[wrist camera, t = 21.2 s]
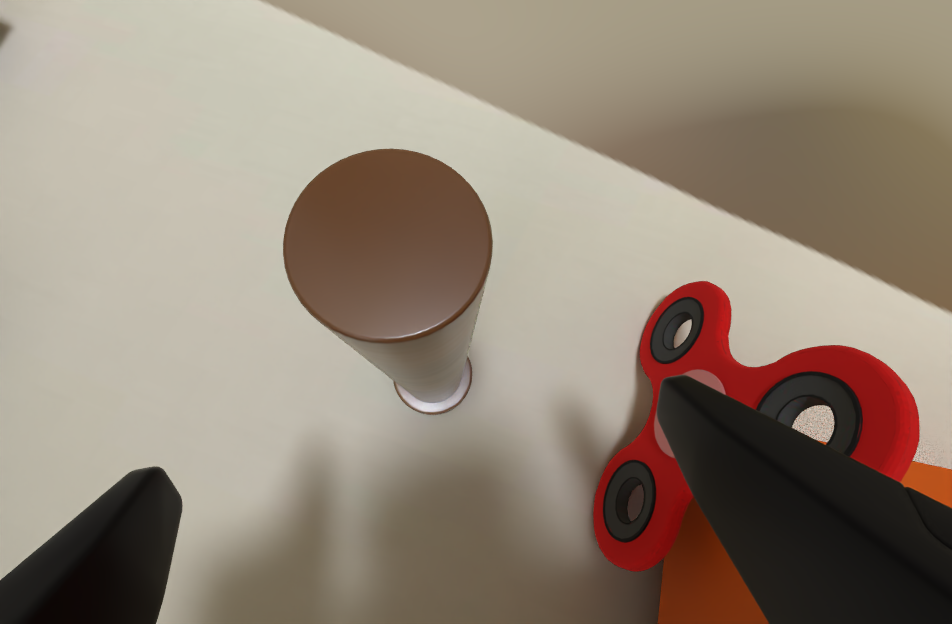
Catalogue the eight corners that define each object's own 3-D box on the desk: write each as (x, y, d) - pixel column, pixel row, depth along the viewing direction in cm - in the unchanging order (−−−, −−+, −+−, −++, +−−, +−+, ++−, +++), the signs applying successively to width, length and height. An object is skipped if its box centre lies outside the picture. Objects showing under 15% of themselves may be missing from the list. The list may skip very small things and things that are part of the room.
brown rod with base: (472, 413, 18) (538, 380, 5) (395, 415, 18) (227, 387, 4) (470, 338, 19) (523, 117, 5) (396, 339, 19) (254, 113, 5)
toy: (666, 298, 20) (647, 288, 20) (956, 220, 10) (925, 200, 10) (594, 547, 17) (571, 539, 17) (893, 741, 8) (850, 727, 8)
